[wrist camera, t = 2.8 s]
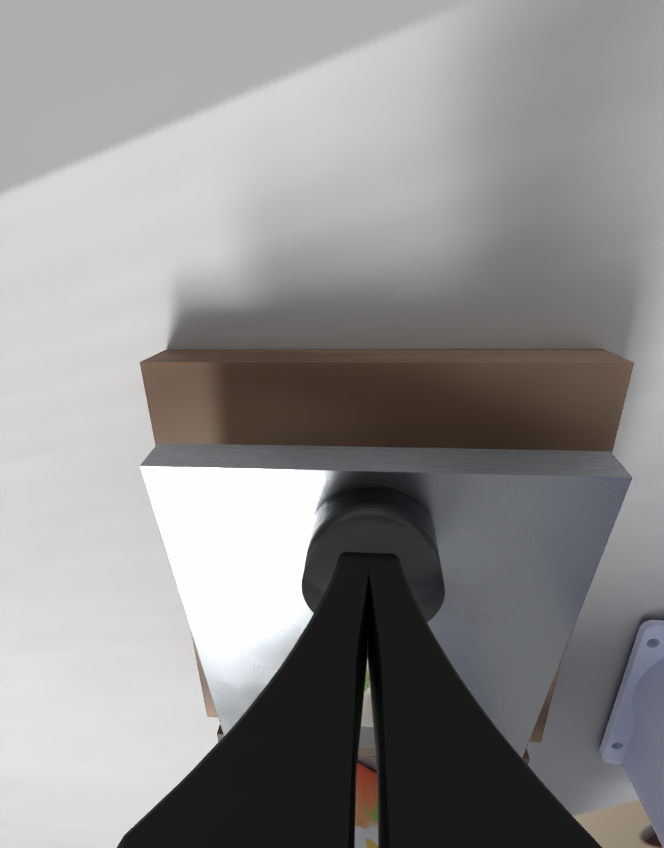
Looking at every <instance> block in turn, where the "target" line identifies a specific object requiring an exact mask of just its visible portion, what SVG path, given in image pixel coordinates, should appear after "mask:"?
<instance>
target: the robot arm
mask: <svg viewBox="0 0 664 848" xmlns="http://www.w3.org/2000/svg"><path fill="white" fill-rule="evenodd" d="M367 658H368V667H369V679H370V692H371V703H372V715H373V727H374V739H375V751H376V765H377V785H378V848H602V847H601V846H600V845H599V844H598V843H597V842H596V841H595V839H594V838H593V837H592V836H591V835H590V834H589V833H588V832H587V831H586V830H585V829H584V828H583V827H582V826H581V825H580V824H579V823H578V822H577V821H576V819H574V817H573V816H572V815H571V814H570V813H569V812H568V811H567V810H566V809H565V807H564V806H563V805H562V804H561V803H560V802H559V801H558V800H557V799H556V797H555V796H554V795H553V794H552V793H551V792H550V791H549V790H548V789H547V787H546V786H545V785H544V784H543V783H542V782H541V781H540V780H539V778H538V777H537V776H536V775H535V774H534V772H533V771H532V770H531V769H530V768H529V766H528V765H527V764H526V763H525V762H524V760H523V759H522V758H521V757H520V756H519V754H518V753H517V752H516V751H515V749H514V748H513V747H512V746H511V745H510V743H509V742H508V741H507V740H506V739H505V737H504V736H503V735H502V734H501V733H500V731H499V730H498V729H497V728H496V726H495V725H494V724H493V722H492V721H491V720H490V718H489V717H488V716H487V714H486V713H485V712H484V710H483V709H482V708H481V706H480V705H479V704H478V702H477V701H476V700H475V698H474V697H473V695H472V694H471V692H470V691H469V690H468V688H467V687H466V685H465V684H464V682H463V681H462V679H461V678H460V676H459V675H458V673H457V672H456V670H455V669H454V667H453V666H452V664H451V663H450V661H449V660H448V658H447V656H446V655H445V653H444V651H443V650H442V648H441V646H440V645H439V643H438V641H437V640H436V638H435V636H434V634H433V633H432V631H431V629H430V627H429V626H428V624H427V622H426V620H425V618H424V616H423V614H422V612H421V610H420V608H419V606H418V605H417V602H416V600H415V598H414V596H413V594H412V592H411V590H410V587H409V585H408V583H407V580H406V578H405V576H404V573H403V570H402V567H401V564H400V561H399V558H398V557H397V556H396V555H395V554H386V553H359V552H343V553H342V554H340V555H339V558H338V562H337V565H336V568H335V570H334V573H333V575H332V578H331V580H330V582H329V584H328V587H327V589H326V591H325V593H324V595H323V597H322V599H321V601H320V603H319V604H318V606H317V608H316V610H315V612H314V614H313V616H312V618H311V619H310V621H309V623H308V624H307V626H306V628H305V629H304V631H303V633H302V634H301V636H300V637H299V639H298V641H297V642H296V644H295V646H294V647H293V649H292V650H291V652H290V653H289V655H288V656H287V658H286V659H285V661H284V662H283V663H282V665H281V666H280V668H279V669H278V671H277V672H276V673H275V675H274V676H273V677H272V679H271V680H270V681H269V683H268V684H267V685H266V687H265V688H264V689H263V691H262V692H261V693H260V694H259V696H258V697H257V698H256V699H255V701H254V702H253V703H252V704H251V706H250V707H249V708H248V709H247V711H246V712H245V713H244V714H243V715H242V717H241V718H240V719H239V720H238V721H237V722H236V724H235V725H234V726H233V727H232V728H231V729H230V730H229V732H228V733H227V734H226V735H225V736H224V737H223V738H222V739H221V740H220V741H219V742H218V743H217V744H216V746H215V747H214V748H213V749H212V750H211V751H210V752H209V753H208V754H207V755H206V756H205V757H204V758H203V759H202V761H201V762H200V763H199V764H198V765H197V766H196V767H195V768H194V769H193V770H192V771H191V772H190V773H189V774H188V775H187V776H186V777H185V778H184V779H183V780H182V781H181V782H180V783H179V784H178V785H177V786H176V787H175V788H174V789H173V790H172V791H171V792H170V793H169V794H168V795H166V796H165V797H164V798H163V799H162V800H161V801H160V802H159V803H158V804H157V805H156V806H155V807H154V808H153V809H152V810H151V811H150V812H149V813H147V814H146V815H145V816H144V817H143V818H142V819H141V820H140V821H139V822H138V823H137V824H136V825H135V826H134V827H133V828H131V829H130V830H129V831H128V832H127V833H126V834H125V835H124V837H123V838H122V840H121V842H120V843H119V845H118V847H117V848H354V846H355V804H356V776H357V761H358V750H359V740H360V730H361V720H362V710H363V700H364V689H365V679H366V669H367ZM599 753H600V756H601V758H602V760H603V761H604V762H606V763H608V764H616V765H623V766H624V768H625V771H626V773H627V775H628V777H629V779H630V781H631V783H632V785H633V787H634V789H635V791H636V793H637V795H638V797H639V799H640V801H641V803H642V806H643V807H644V810H645V812H646V814H647V816H648V818H649V820H650V822H651V824H652V826H653V828H654V830H655V832H656V834H657V836H658V838H659V841H660V843H661V845H662V847H663V848H664V620H648V621H645V622H644V623H642V624H641V626H640V627H639V630H638V633H637V636H636V639H635V643H634V646H633V649H632V652H631V655H630V658H629V661H628V664H627V667H626V670H625V673H624V676H623V679H622V682H621V685H620V688H619V691H618V695H617V698H616V701H615V704H614V707H613V710H612V713H611V716H610V719H609V722H608V725H607V728H606V731H605V734H604V737H603V740H602V744H601V747H600V750H599Z"/></svg>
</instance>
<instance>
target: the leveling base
mask: <svg viewBox="0 0 664 848" xmlns="http://www.w3.org/2000/svg"><path fill="white" fill-rule="evenodd" d="M633 365H634V363H633V362H631V361H629V360H626V359H624V358H622V357H619V356H617V355H615V354H612V353H610V352H608V351H605V350H603V349H389V350H165V351H162V352H160V353H158V354H156V355H154V356H152V357H150V358H148V359H146V360H144V361H142V362H140V366H141V371H142V376H143V381H144V387H145V392H146V397H147V402H148V408H149V413H150V418H151V423H152V429H153V434H154V439H155V444H156V445H157V444H158V443H188V444H242V445H297V446H351V447H405V448H459V449H514V450H568V451H610V452H611V453H612V450H613V446H614V442H615V438H616V434H617V430H618V426H619V422H620V418H621V414H622V409H623V405H624V401H625V397H626V393H627V389H628V385H629V381H630V377H631V373H632V369H633ZM191 634H192V632H191ZM192 639H193V644H194V649H195V655H196V660H197V665H198V670H199V676H200V681H201V686H202V691H203V697H204V702H205V707H206V712H207V717H218V715H217V712H216V708H215V705H214V702H213V699H212V696H211V692H210V689H209V686H208V683H207V680H206V676H205V673H204V670H203V667H202V664H201V660H200V657H199V654H198V651H197V648H196V644H195V641H194V638H193V635H192ZM560 662H561V661H560ZM559 666H560V663H559ZM559 666H558V668H557V671H556V673H555V676H554V678H553V681H552V684H551V686H550V689H549V691H548V694H547V696H546V699H545V701H544V704H543V706H542V709H541V712H540V714H539V717H538V719H537V722H536V724H535V727H534V729H533V732H532V734H531V737H530V740H529V741H532V742H541V739H542V735H543V731H544V727H545V723H546V719H547V715H548V711H549V707H550V703H551V699H552V695H553V690H554V686H555V682H556V678H557V674H558V670H559ZM217 736H218V742H219V741H220V740H221V739H222V738H223V737H224V734H223V731H222V728H221V724H220V726H219V729H218V733H217ZM358 755H362V756H374V757H376V751H375V749H371V748H359V750H358ZM522 759H523V760H524V762H525V763H526V764H527V765H528V763H529V756H528V753H527V749H526V750H525V752H524V755H523V757H522Z"/></svg>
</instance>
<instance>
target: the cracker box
mask: <svg viewBox="0 0 664 848" xmlns="http://www.w3.org/2000/svg"><path fill="white" fill-rule="evenodd" d="M354 848H378V785H377V773H375V772H374V771H372V770H370V769H368V768H367V767H365V766H363V765H361V764H359V763H357V776H356V804H355V846H354Z"/></svg>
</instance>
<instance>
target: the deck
mask: <svg viewBox="0 0 664 848" xmlns="http://www.w3.org/2000/svg"><path fill="white" fill-rule="evenodd" d="M140 468H141V472H142V475H143V478H144V481H145V484H146V488H147V491H148V494H149V497H150V500H151V504H152V507H153V510H154V513H155V516H156V520H157V523H158V526H159V529H160V532H161V536H162V539H163V542H164V545H165V548H166V552H167V555H168V558H169V561H170V564H171V568H172V571H173V574H174V577H175V580H176V584H177V587H178V590H179V593H180V596H181V600H182V603H183V606H184V609H185V612H186V616H187V619H188V622H189V625H190V628H191V632H192V635H193V638H194V641H195V644H196V648H197V651H198V654H199V657H200V660H201V664H202V667H203V670H204V673H205V676H206V680H207V683H208V686H209V689H210V692H211V696H212V699H213V702H214V705H215V708H216V712H217V715H218V718H219V721H220V724H221V728H222V731H223V734H224V736H225V735H226V734H227V733H228V732H229V730H230V729H231V728H232V727H233V726H234V725H235V724H236V722H237V721H238V720H239V719H240V718H241V717H242V715H243V714H244V713H245V712H246V711H247V709H248V708H249V707H250V706H251V704H252V703H253V702H254V701H255V699H256V698H257V697H258V696H259V694H260V693H261V692H262V691H263V689H264V688H265V687H266V685H267V684H268V683H269V681H270V680H271V679H272V677H273V676H274V675H275V673H276V672H277V671H278V669H279V668H280V666H281V665H282V663H283V662H284V661H285V659H286V658H287V656H288V655H289V653H290V652H291V650H292V649H293V647H294V646H295V644H296V642H297V641H298V639H299V637H300V636H301V634H302V633H303V631H304V629H305V628H306V626H307V624H308V623H309V621H310V619H311V618H312V616H313V614H314V612H315V610H316V608H317V606H318V604H319V603H320V601H321V599H322V597H323V595H324V593H325V591H326V589H327V587H328V584H329V582H330V580H331V578H332V575H333V573H334V570H335V568H336V565H337V562H338V558H339V555H340V554H342V553H343V552H359V553H386V554H395V555H396V556H397V557H398V558H399V561H400V564H401V567H402V570H403V573H404V576H405V578H406V580H407V583H408V585H409V587H410V590H411V592H412V594H413V596H414V598H415V600H416V602H417V605H418V606H419V608H420V610H421V612H422V614H423V616H424V618H425V620H426V622H427V624H428V626H429V627H430V629H431V631H432V633H433V634H434V636H435V638H436V640H437V641H438V643H439V645H440V646H441V648H442V650H443V651H444V653H445V655H446V656H447V658H448V660H449V661H450V663H451V664H452V666H453V667H454V669H455V670H456V672H457V673H458V675H459V676H460V678H461V679H462V681H463V682H464V684H465V685H466V687H467V688H468V690H469V691H470V692H471V694H472V695H473V697H474V698H475V700H476V701H477V702H478V704H479V705H480V706H481V708H482V709H483V710H484V712H485V713H486V714H487V716H488V717H489V718H490V720H491V721H492V722H493V724H494V725H495V726H496V728H497V729H498V730H499V731H500V733H501V734H502V735H503V736H504V737H505V739H506V740H507V741H508V742H509V743H510V745H511V746H512V747H513V748H514V749H515V751H516V752H517V753H518V754H519V756H520V757H521V758H522V757H523V755H524V752H525V750H526V747H527V745H528V742H529V740H530V737H531V734H532V732H533V729H534V727H535V724H536V722H537V719H538V717H539V714H540V712H541V709H542V706H543V704H544V701H545V699H546V696H547V694H548V691H549V689H550V686H551V684H552V681H553V678H554V676H555V673H556V671H557V668H558V666H559V663H560V661H561V658H562V656H563V653H564V650H565V648H566V645H567V643H568V640H569V638H570V635H571V633H572V630H573V627H574V625H575V622H576V620H577V617H578V615H579V612H580V610H581V607H582V605H583V602H584V599H585V597H586V594H587V592H588V589H589V587H590V584H591V582H592V579H593V577H594V574H595V571H596V569H597V566H598V564H599V561H600V559H601V556H602V554H603V551H604V548H605V546H606V543H607V541H608V538H609V536H610V533H611V531H612V528H613V526H614V523H615V520H616V518H617V515H618V513H619V510H620V508H621V505H622V503H623V500H624V498H625V495H626V492H627V490H628V487H629V485H630V482H631V480H632V477H631V475H630V474H629V473H628V472H627V471H626V470H625V468H624V467H623V466H622V465H621V464H620V463H619V461H618V460H617V459H616V458H615V457H614V456H613V454H612V453H611V452H610V451H568V450H514V449H459V448H405V447H351V446H297V445H242V444H188V443H158V444H157V445H156V446H155V448H154V449H153V450H152V451H151V453H150V454H149V455H148V456H147V458H146V459H145V460H144V461H143V463H142V464H141V465H140ZM359 748H371V749H375V739H374V727H373V715H372V703H371V692H370V679H369V667H368V658H367V669H366V679H365V689H364V700H363V710H362V720H361V730H360V740H359Z"/></svg>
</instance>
